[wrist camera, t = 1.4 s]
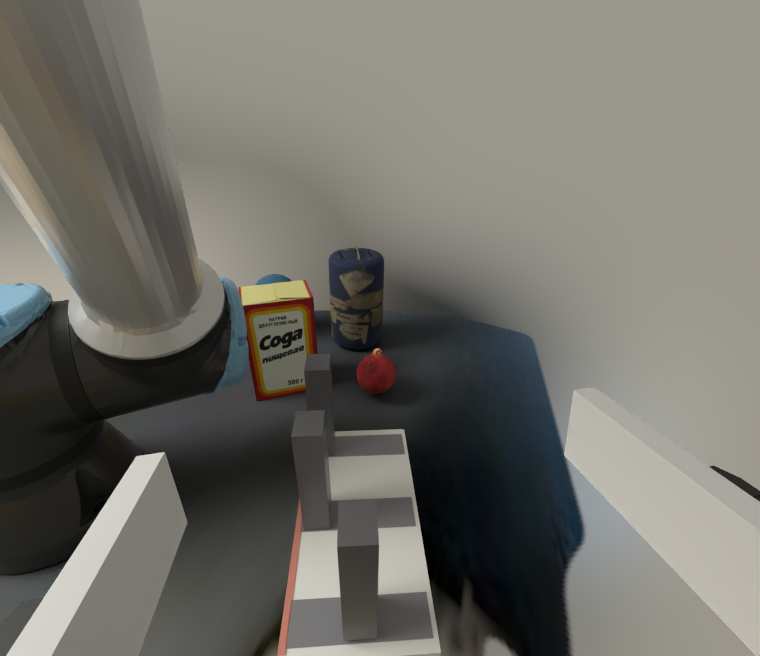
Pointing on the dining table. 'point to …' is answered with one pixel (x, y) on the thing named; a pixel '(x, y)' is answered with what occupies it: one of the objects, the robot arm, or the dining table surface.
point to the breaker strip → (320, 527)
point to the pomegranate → (376, 372)
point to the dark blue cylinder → (356, 297)
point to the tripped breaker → (358, 568)
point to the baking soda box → (279, 336)
